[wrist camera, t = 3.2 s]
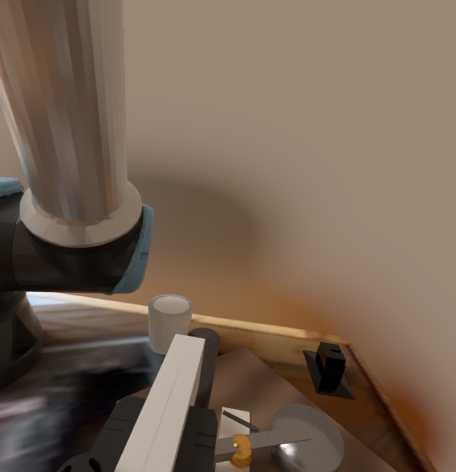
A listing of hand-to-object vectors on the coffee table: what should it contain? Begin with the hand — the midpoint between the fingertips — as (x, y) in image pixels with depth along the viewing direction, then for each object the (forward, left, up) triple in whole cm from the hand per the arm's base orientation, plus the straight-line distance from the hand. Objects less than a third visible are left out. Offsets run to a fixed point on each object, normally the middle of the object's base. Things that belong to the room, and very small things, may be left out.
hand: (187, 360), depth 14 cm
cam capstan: (-2, +11, -17) cm, 21 cm away
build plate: (-6, +32, -20) cm, 38 cm away
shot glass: (-24, +14, -20) cm, 34 cm away
